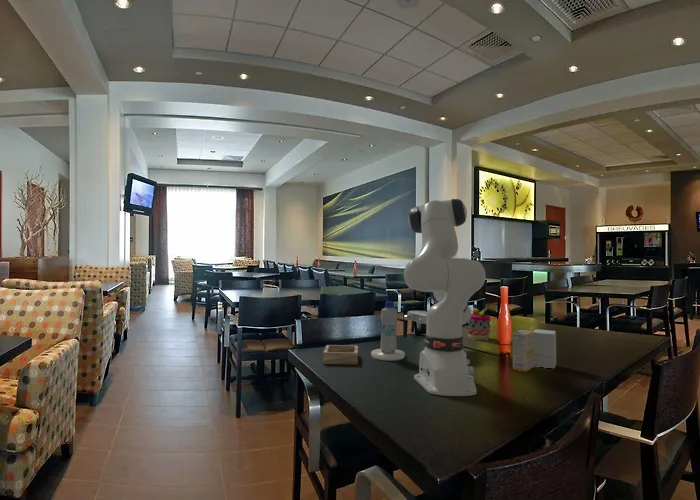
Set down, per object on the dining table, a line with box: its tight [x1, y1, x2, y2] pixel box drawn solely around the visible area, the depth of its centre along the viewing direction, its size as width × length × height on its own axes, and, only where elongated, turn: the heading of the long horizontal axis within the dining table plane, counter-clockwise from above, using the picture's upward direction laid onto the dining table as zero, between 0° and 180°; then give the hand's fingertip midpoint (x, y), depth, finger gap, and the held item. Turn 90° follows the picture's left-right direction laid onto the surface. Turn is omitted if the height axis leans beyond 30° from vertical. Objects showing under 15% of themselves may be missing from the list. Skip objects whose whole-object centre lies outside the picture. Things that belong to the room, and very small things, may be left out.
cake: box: [466, 306, 491, 341], centre depth 193 cm, size 10×11×15 cm
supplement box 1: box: [512, 329, 536, 373], centre depth 142 cm, size 8×5×13 cm, turn 135°
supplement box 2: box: [533, 328, 557, 370], centre depth 146 cm, size 7×7×13 cm
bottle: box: [380, 301, 398, 354], centre depth 158 cm, size 7×7×20 cm
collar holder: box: [322, 344, 359, 365], centre depth 152 cm, size 12×12×4 cm
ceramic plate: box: [370, 348, 406, 362], centre depth 157 cm, size 13×13×2 cm
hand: (411, 319), depth 163 cm, fingers open, 8 cm apart
